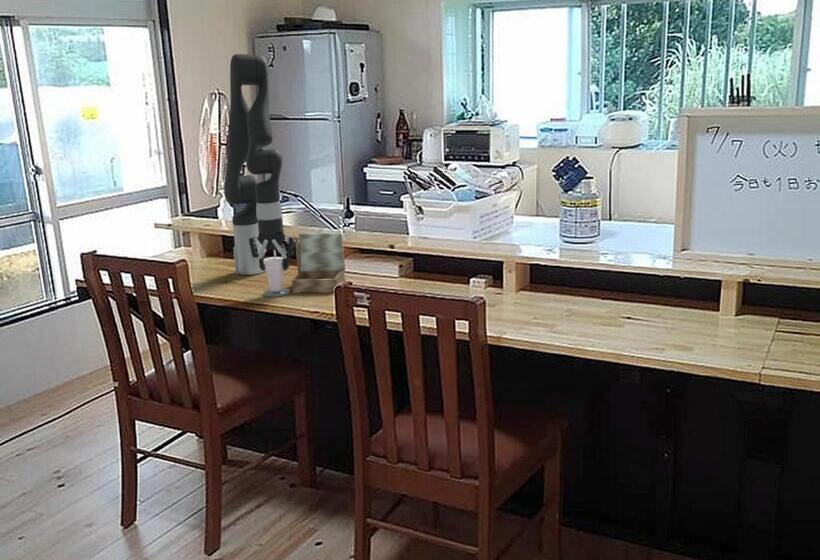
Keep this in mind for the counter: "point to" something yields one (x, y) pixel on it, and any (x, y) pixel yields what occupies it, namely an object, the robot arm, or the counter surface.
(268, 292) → the coaster
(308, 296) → the counter surface
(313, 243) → the cold frame
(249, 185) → the robot arm
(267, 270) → the smoothie
